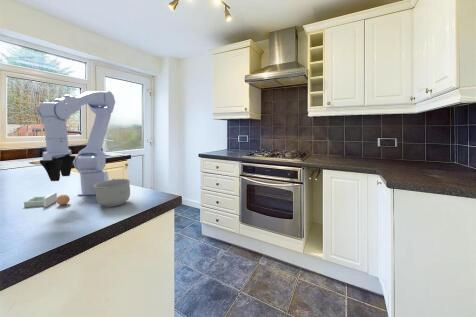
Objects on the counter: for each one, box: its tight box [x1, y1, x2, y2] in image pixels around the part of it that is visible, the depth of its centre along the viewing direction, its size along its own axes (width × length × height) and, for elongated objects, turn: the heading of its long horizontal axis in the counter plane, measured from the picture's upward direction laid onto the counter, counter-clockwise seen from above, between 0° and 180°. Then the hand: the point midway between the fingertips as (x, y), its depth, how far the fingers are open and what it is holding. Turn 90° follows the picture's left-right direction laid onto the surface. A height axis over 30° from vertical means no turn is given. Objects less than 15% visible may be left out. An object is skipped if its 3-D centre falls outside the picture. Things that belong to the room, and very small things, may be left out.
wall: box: [43, 192, 58, 208], centre depth 77 cm, size 1×7×3 cm, turn 17°
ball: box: [55, 194, 71, 206], centre depth 76 cm, size 4×4×4 cm
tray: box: [23, 195, 48, 208], centre depth 77 cm, size 6×6×2 cm
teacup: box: [94, 178, 131, 208], centre depth 78 cm, size 14×11×8 cm
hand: (60, 178), depth 75 cm, fingers open, 7 cm apart
